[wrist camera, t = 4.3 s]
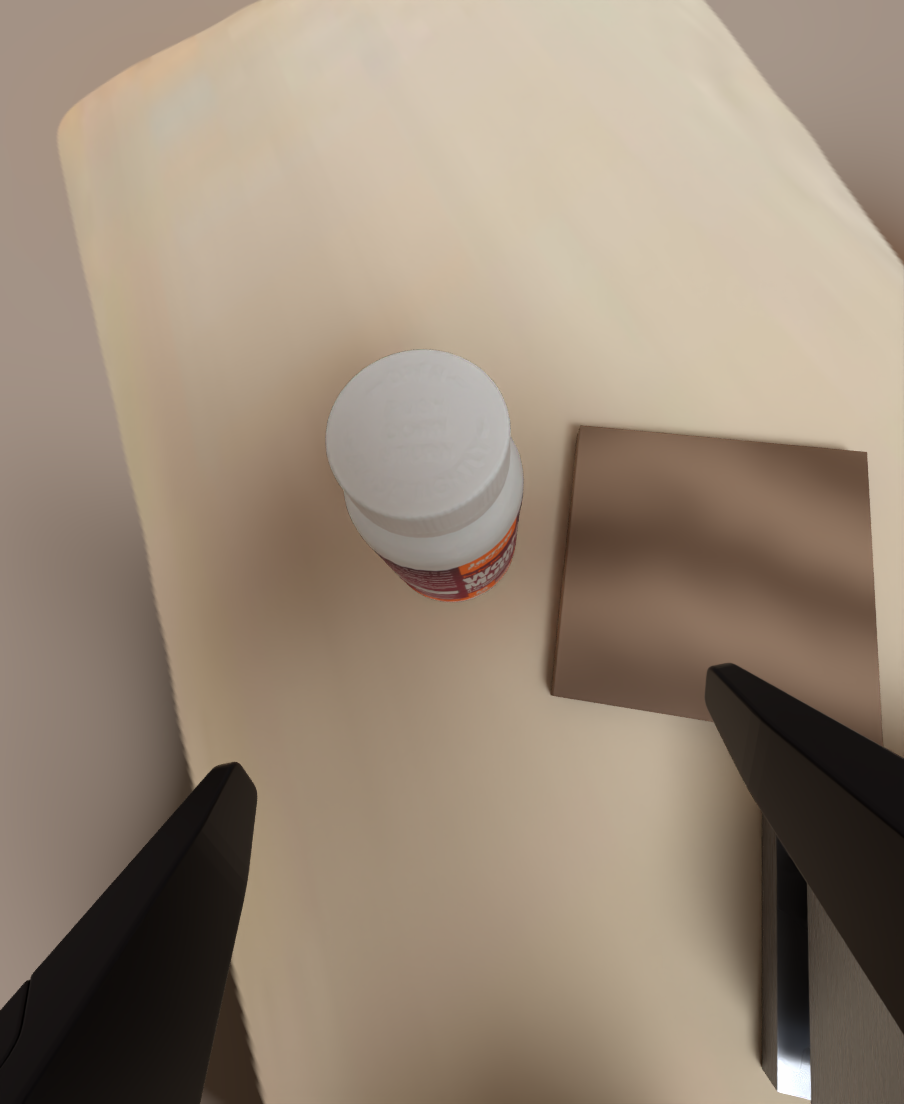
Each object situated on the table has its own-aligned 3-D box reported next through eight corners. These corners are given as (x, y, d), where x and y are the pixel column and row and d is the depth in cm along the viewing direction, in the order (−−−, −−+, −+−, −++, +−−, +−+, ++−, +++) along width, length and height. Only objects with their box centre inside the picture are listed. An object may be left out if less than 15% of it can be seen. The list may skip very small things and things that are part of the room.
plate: (864, 745, 20) (883, 749, 19) (550, 694, 21) (553, 695, 21) (851, 461, 23) (866, 452, 22) (577, 435, 25) (580, 425, 24)
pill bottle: (492, 621, 23) (488, 572, 12) (374, 580, 24) (269, 500, 13) (531, 504, 24) (560, 361, 13) (417, 470, 25) (355, 311, 14)
